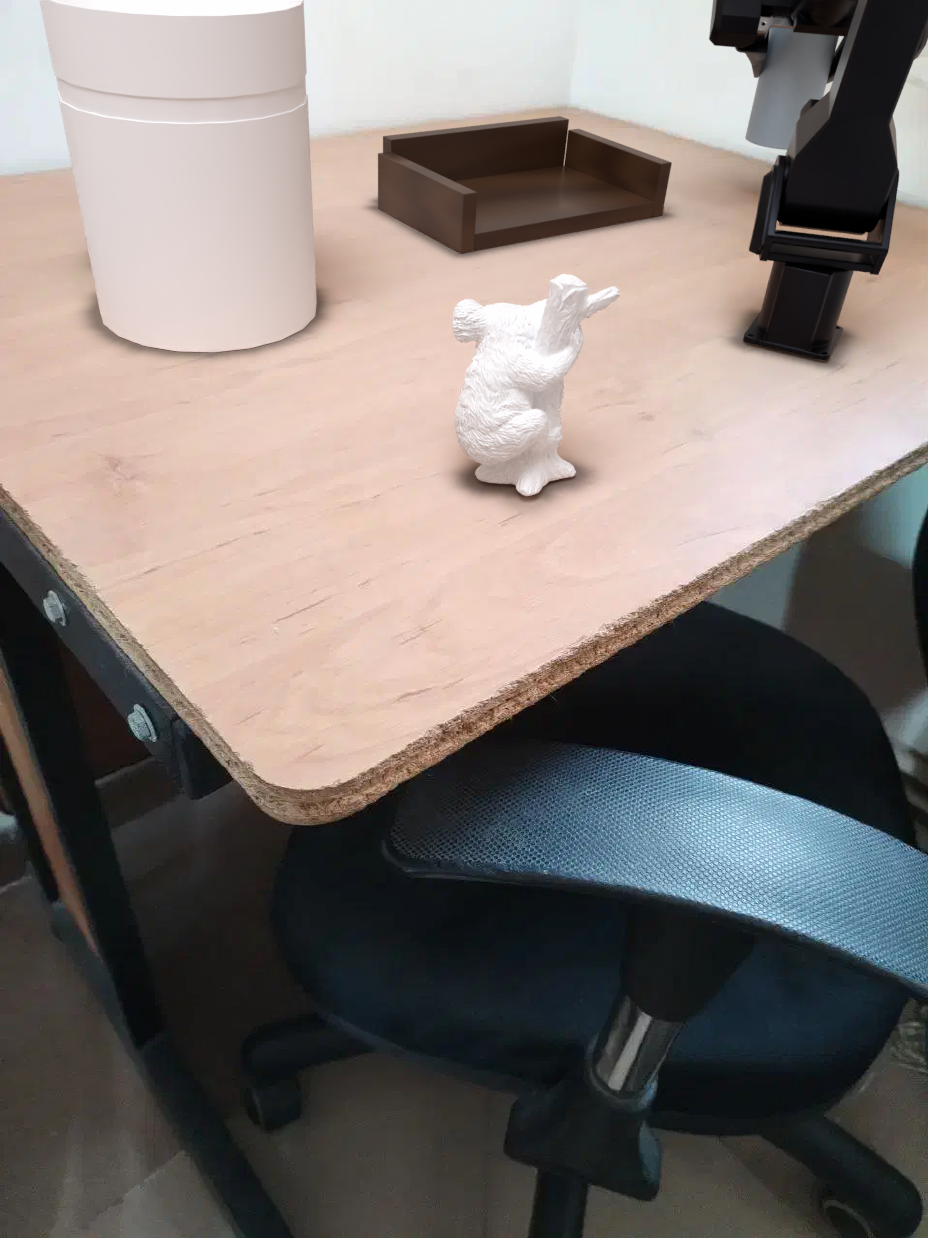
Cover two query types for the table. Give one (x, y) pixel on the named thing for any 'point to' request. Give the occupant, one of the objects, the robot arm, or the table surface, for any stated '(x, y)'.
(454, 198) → the tray
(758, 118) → the pale blue cylinder
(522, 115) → the table surface
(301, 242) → the canister
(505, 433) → the koala figurine
